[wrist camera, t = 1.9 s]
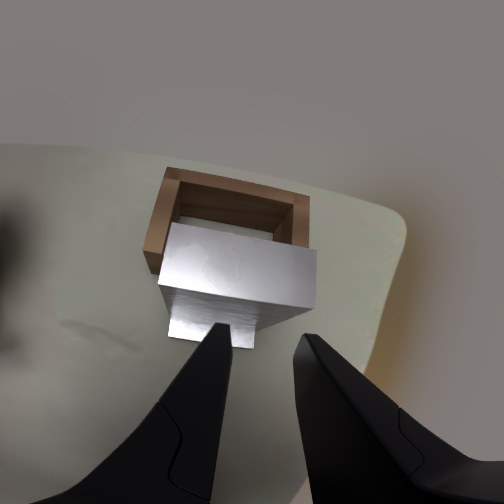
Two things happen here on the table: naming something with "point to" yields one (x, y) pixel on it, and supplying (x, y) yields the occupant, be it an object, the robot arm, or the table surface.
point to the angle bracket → (233, 283)
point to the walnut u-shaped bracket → (224, 209)
